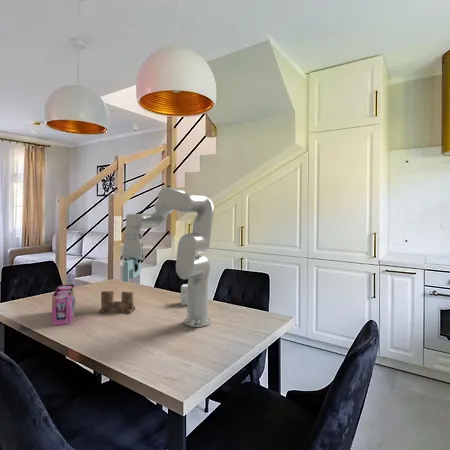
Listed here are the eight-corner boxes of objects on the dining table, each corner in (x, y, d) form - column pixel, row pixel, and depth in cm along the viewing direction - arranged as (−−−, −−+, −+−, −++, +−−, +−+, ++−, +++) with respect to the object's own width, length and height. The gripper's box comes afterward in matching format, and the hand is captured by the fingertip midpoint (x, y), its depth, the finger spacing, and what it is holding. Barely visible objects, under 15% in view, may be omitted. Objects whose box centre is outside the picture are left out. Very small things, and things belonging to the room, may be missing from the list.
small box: (196, 302, 184) (197, 284, 183) (195, 305, 178) (195, 286, 178) (183, 302, 185) (183, 283, 184) (180, 305, 179) (180, 286, 179)
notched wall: (135, 309, 171) (135, 290, 171) (130, 313, 163) (130, 294, 163) (105, 308, 172) (105, 289, 171) (99, 313, 164) (98, 293, 163)
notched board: (127, 282, 161) (128, 262, 161) (123, 281, 162) (123, 262, 161) (140, 273, 183) (140, 255, 183) (136, 273, 183) (136, 255, 183)
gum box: (70, 325, 147) (70, 295, 146) (51, 327, 144) (50, 297, 144) (75, 309, 170) (75, 284, 169) (58, 311, 167) (58, 285, 166)
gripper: (150, 236, 176) (149, 270, 177) (120, 236, 176) (120, 269, 177) (146, 238, 168) (146, 273, 169) (115, 237, 169) (115, 272, 170)
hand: (133, 271), depth 173 cm, fingers closed on notched board, 2 cm apart
